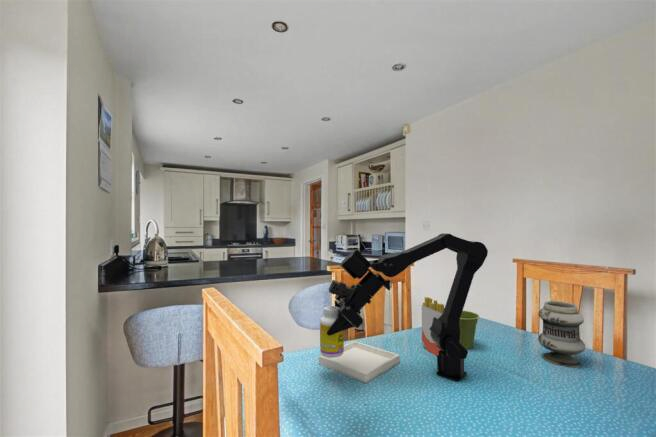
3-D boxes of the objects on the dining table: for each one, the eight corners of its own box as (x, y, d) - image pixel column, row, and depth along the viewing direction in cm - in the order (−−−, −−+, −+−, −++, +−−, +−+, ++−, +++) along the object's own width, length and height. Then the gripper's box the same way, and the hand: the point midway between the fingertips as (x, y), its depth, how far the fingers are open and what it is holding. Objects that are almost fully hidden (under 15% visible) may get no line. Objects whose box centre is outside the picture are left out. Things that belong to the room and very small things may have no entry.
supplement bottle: (340, 359, 84) (340, 311, 85) (317, 357, 86) (317, 310, 87) (346, 350, 91) (345, 305, 91) (324, 348, 93) (323, 304, 93)
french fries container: (432, 345, 112) (432, 295, 113) (453, 357, 102) (452, 302, 103) (421, 347, 111) (421, 296, 112) (441, 359, 101) (440, 303, 101)
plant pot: (448, 337, 121) (448, 308, 121) (482, 344, 114) (482, 313, 114) (439, 347, 111) (439, 315, 112) (476, 354, 104) (475, 320, 105)
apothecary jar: (543, 364, 97) (542, 306, 98) (534, 350, 108) (533, 298, 109) (592, 371, 92) (590, 310, 93) (577, 356, 104) (576, 301, 104)
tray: (399, 362, 98) (399, 354, 98) (366, 383, 85) (366, 374, 85) (354, 347, 110) (354, 340, 110) (318, 363, 97) (318, 356, 97)
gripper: (341, 266, 99) (306, 302, 98) (349, 275, 80) (306, 320, 79) (366, 291, 99) (332, 327, 98) (380, 305, 80) (337, 350, 79)
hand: (327, 330), depth 89 cm, fingers closed on supplement bottle, 7 cm apart
